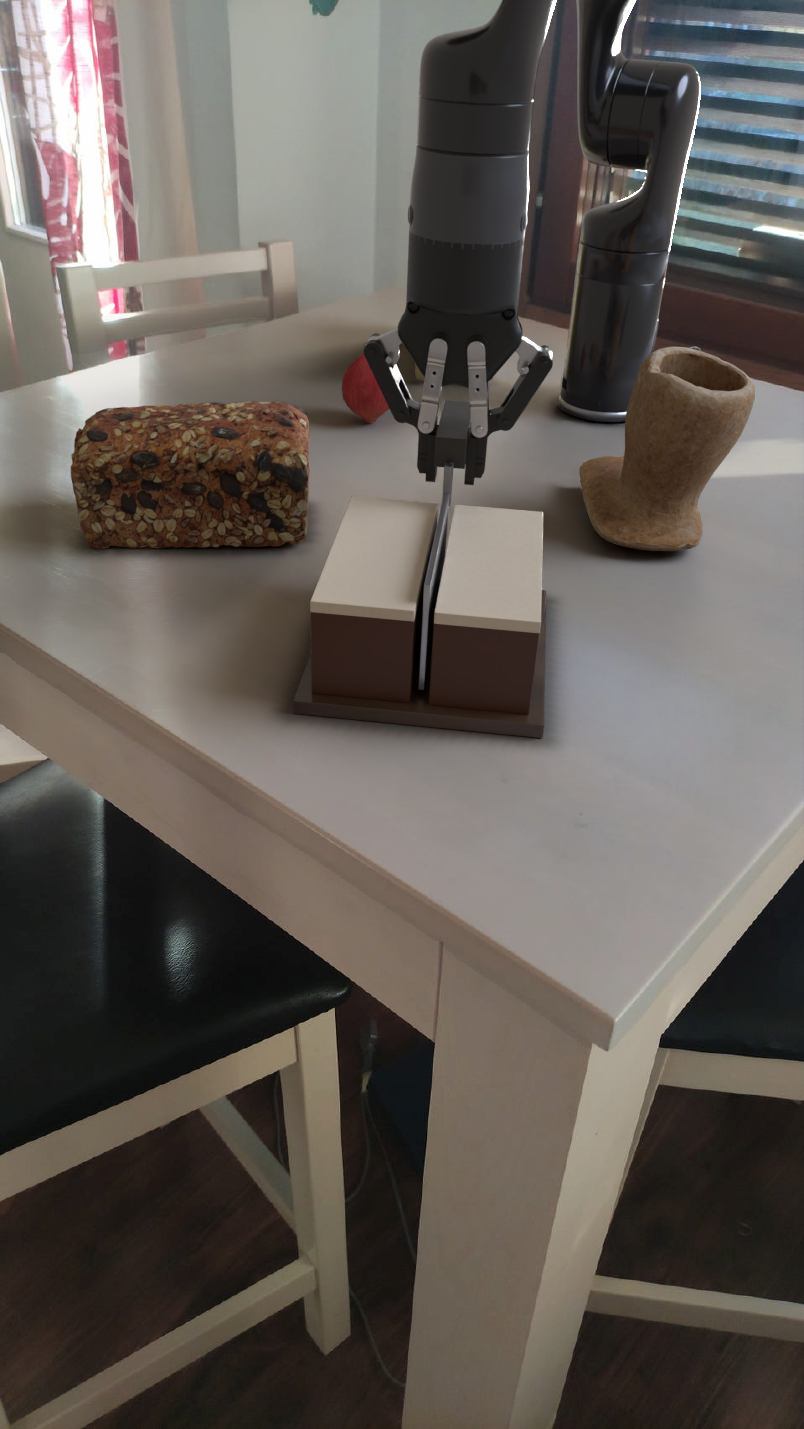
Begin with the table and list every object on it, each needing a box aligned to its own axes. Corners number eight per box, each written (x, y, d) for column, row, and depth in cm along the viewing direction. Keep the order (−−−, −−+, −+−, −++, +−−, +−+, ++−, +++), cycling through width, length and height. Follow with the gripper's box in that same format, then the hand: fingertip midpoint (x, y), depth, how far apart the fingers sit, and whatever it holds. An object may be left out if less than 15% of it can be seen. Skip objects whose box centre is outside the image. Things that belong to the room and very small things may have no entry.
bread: (311, 500, 95) (309, 390, 89) (310, 554, 86) (308, 436, 80) (100, 498, 93) (84, 386, 88) (77, 553, 85) (59, 432, 79)
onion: (332, 426, 110) (332, 349, 106) (355, 409, 115) (355, 334, 110) (383, 435, 109) (385, 357, 104) (404, 418, 113) (407, 342, 109)
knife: (436, 535, 87) (445, 399, 80) (463, 537, 87) (474, 402, 80) (404, 688, 68) (411, 527, 62) (438, 691, 68) (449, 531, 61)
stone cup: (731, 567, 87) (776, 387, 78) (587, 558, 87) (615, 377, 79) (701, 494, 99) (736, 331, 91) (575, 486, 100) (598, 322, 91)
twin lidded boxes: (339, 582, 82) (340, 489, 78) (544, 601, 81) (557, 507, 77) (293, 713, 68) (290, 607, 63) (542, 738, 66) (557, 632, 62)
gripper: (574, 222, 71) (544, 468, 81) (369, 209, 72) (364, 453, 82) (576, 245, 64) (543, 508, 74) (352, 231, 66) (349, 492, 76)
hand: (450, 478), depth 78 cm, fingers closed on knife, 2 cm apart
